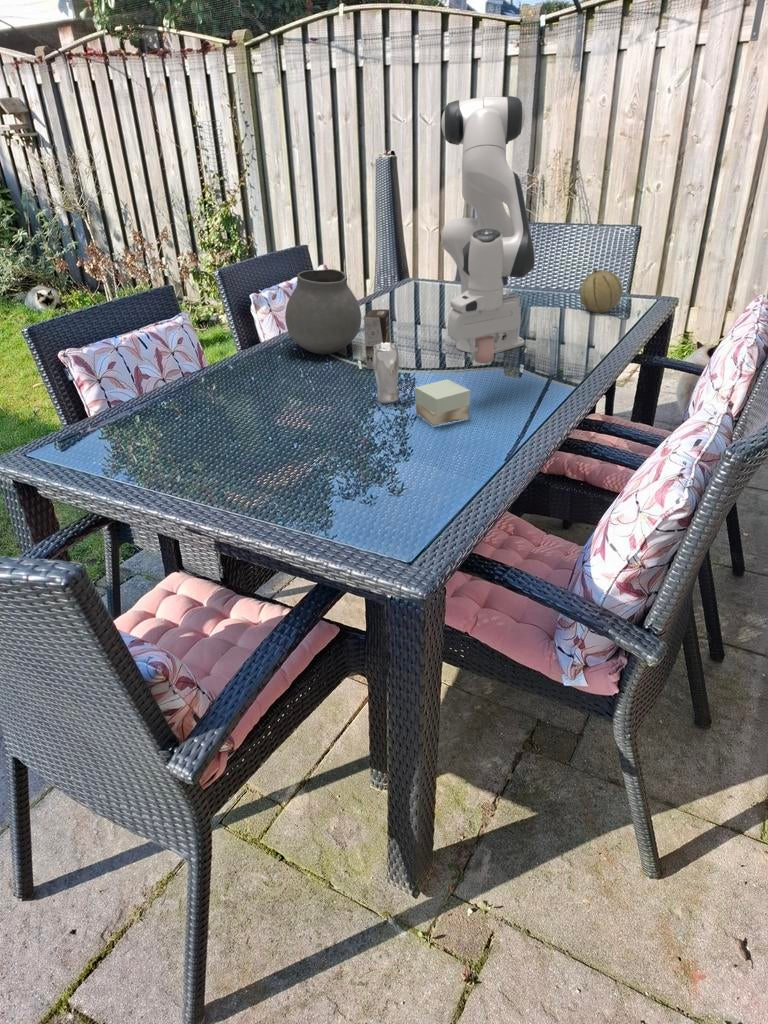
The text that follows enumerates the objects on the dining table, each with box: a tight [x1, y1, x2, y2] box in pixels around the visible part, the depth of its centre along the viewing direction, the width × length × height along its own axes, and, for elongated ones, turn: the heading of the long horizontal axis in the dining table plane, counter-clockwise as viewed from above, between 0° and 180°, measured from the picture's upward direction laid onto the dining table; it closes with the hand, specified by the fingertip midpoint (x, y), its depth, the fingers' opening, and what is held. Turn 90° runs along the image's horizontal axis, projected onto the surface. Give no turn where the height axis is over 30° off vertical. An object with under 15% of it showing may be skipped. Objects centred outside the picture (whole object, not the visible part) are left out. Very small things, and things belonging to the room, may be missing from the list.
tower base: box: [415, 402, 470, 426], centre depth 180 cm, size 10×10×4 cm
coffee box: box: [363, 309, 392, 370], centre depth 214 cm, size 9×6×16 cm
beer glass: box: [373, 342, 400, 405], centre depth 189 cm, size 7×7×15 cm
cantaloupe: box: [579, 269, 623, 313], centre depth 253 cm, size 15×15×15 cm
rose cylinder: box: [474, 335, 495, 364], centre depth 186 cm, size 5×5×6 cm
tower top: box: [414, 378, 471, 414], centre depth 178 cm, size 10×10×4 cm
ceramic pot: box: [284, 268, 362, 355], centre depth 226 cm, size 24×24×25 cm
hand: (484, 350), depth 186 cm, fingers closed on rose cylinder, 5 cm apart
